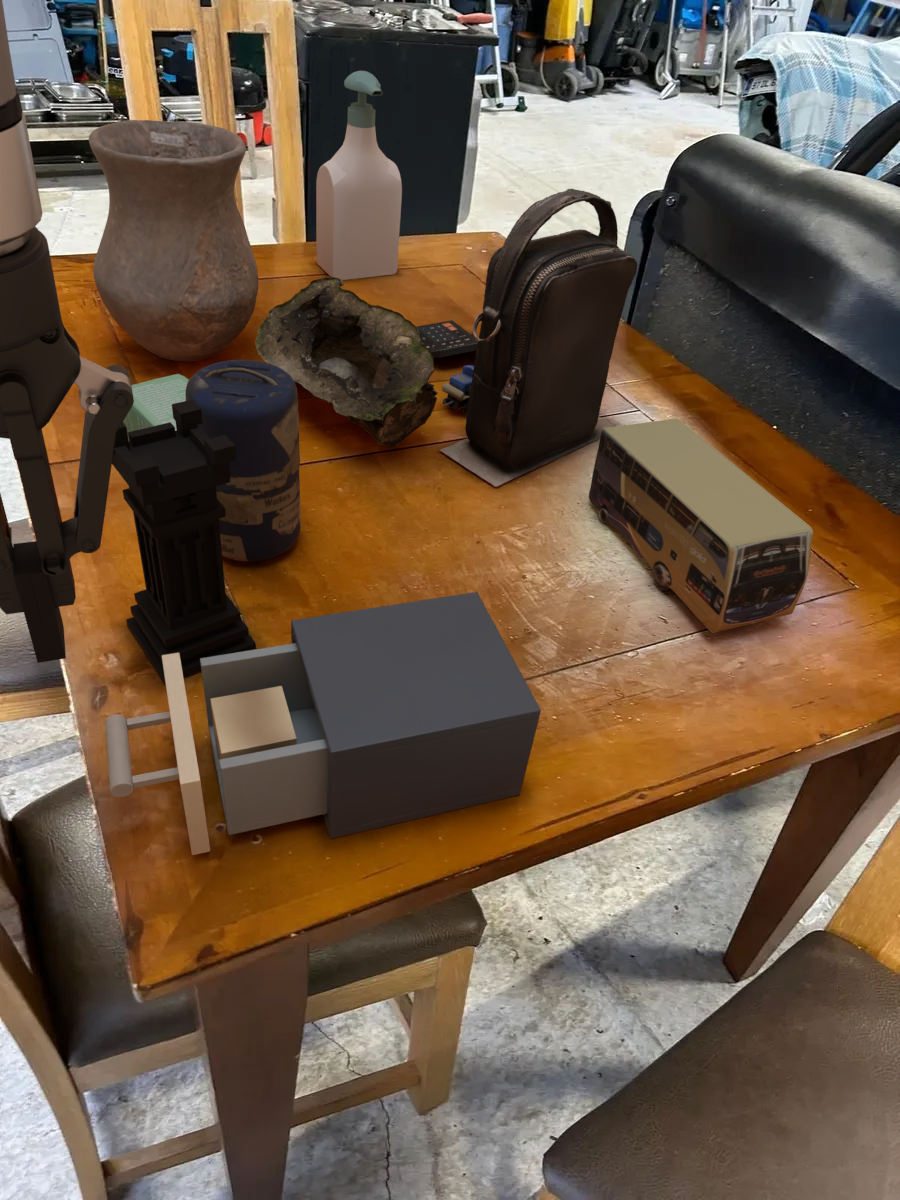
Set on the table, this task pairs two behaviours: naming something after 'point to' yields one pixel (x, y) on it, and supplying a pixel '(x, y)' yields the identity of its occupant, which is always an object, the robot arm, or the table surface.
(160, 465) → the chess piece
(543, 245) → the shoulder bag
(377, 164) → the soap bottle
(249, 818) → the drawer
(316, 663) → the cabinet
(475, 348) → the calculator
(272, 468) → the canister
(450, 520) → the table surface
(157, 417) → the box
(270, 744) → the block
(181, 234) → the vase
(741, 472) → the toy bus
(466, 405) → the toy train
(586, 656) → the table surface
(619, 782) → the table surface
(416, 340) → the hollow geode rock
